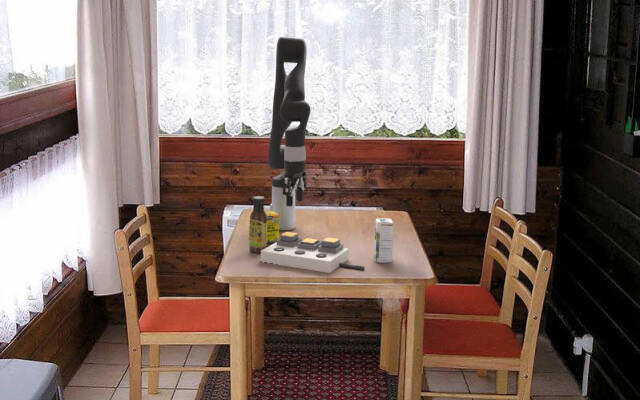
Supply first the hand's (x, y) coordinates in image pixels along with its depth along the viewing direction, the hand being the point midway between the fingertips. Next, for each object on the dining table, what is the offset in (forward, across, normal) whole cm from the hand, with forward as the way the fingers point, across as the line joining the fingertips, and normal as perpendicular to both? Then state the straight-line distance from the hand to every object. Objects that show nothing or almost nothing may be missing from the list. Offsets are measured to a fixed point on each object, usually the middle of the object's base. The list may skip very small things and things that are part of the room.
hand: (294, 203), depth 281 cm
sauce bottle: (+18, +5, -12) cm, 22 cm away
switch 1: (+12, +4, 0) cm, 13 cm away
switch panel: (+18, +8, +12) cm, 23 cm away
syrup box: (+18, -5, +32) cm, 37 cm away
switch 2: (+14, +4, +8) cm, 16 cm away
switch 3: (+12, +4, +16) cm, 20 cm away
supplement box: (+18, -7, -14) cm, 24 cm away
